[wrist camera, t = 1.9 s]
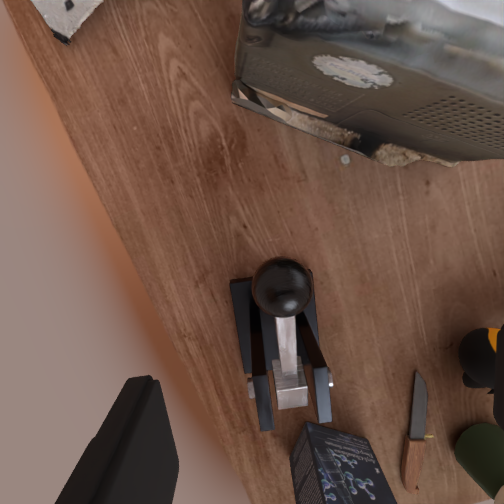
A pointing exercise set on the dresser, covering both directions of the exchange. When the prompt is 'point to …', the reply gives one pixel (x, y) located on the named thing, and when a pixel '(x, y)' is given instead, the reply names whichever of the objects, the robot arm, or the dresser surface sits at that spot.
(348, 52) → the radio
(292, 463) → the box
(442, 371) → the dresser surface
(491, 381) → the character figurine
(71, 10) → the card
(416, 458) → the knife
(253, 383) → the black lever stand
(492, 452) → the character mug
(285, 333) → the tap lever
